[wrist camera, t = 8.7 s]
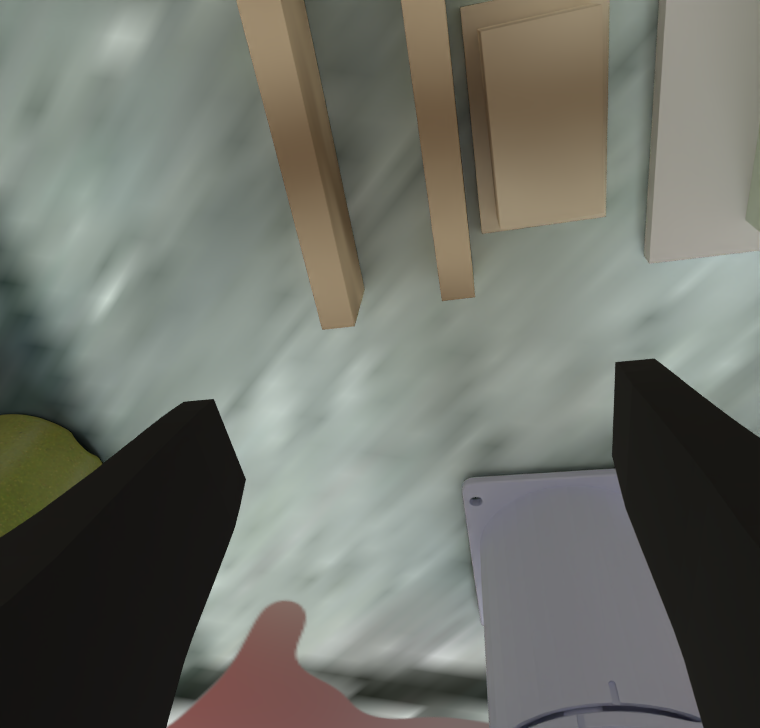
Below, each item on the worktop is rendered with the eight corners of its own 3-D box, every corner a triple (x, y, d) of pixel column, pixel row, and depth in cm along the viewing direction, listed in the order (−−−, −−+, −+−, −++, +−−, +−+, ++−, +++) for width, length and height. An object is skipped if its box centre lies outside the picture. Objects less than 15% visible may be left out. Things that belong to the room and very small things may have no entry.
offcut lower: (597, 205, 18) (606, 216, 17) (480, 221, 19) (481, 233, 18) (599, -23, 15) (609, -23, 14) (459, 6, 16) (460, 7, 15)
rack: (473, 276, 19) (476, 312, 17) (335, 292, 20) (322, 329, 18) (438, -61, 15) (436, -67, 12) (260, -21, 15) (231, -21, 13)
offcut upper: (594, 200, 17) (604, 212, 16) (496, 217, 18) (500, 230, 17) (591, 2, 15) (602, 4, 14) (477, 29, 15) (480, 31, 14)
